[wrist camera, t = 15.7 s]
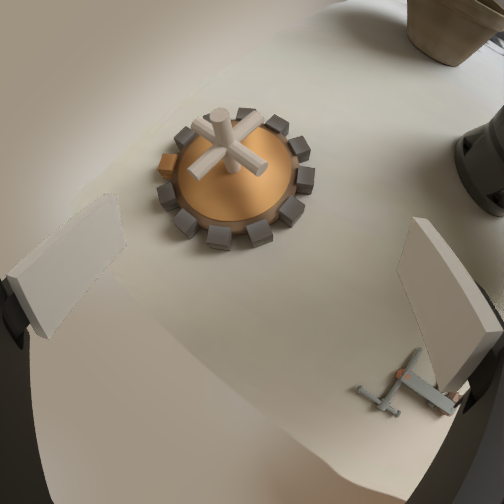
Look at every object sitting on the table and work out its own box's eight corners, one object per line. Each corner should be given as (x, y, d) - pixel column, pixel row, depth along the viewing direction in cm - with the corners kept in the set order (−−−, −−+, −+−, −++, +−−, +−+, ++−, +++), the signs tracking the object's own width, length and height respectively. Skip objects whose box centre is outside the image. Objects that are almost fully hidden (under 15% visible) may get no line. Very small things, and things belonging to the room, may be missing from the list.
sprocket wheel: (276, 104, 39) (276, 93, 36) (337, 216, 34) (342, 208, 32) (151, 148, 38) (145, 139, 36) (185, 273, 33) (179, 270, 31)
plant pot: (382, 9, 47) (396, -52, 26) (462, 42, 44) (486, -10, 23) (392, 55, 41) (419, -28, 20) (487, 97, 39) (529, 37, 18)
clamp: (475, 378, 26) (434, 443, 24) (466, 376, 28) (427, 438, 26) (405, 321, 29) (356, 394, 27) (398, 321, 31) (351, 390, 29)
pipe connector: (178, 173, 34) (148, 126, 25) (233, 123, 36) (220, 69, 26) (234, 221, 32) (217, 179, 23) (291, 163, 33) (295, 109, 24)
